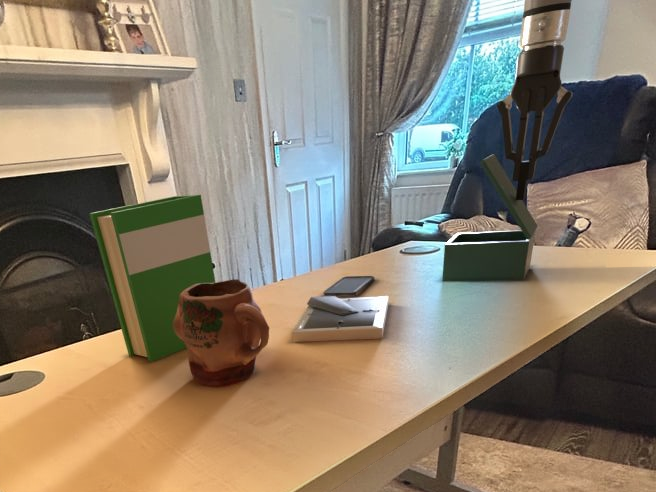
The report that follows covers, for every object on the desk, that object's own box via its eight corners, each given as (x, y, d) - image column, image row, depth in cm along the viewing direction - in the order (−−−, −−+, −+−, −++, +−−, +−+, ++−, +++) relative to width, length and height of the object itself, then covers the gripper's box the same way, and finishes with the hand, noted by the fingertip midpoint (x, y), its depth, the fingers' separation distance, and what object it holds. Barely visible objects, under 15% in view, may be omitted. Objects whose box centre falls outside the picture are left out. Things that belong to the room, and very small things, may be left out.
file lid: (479, 162, 102) (483, 159, 102) (490, 156, 111) (493, 153, 110) (527, 240, 106) (531, 237, 105) (534, 228, 115) (537, 225, 114)
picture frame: (311, 310, 111) (293, 343, 95) (311, 296, 109) (291, 327, 93) (388, 306, 107) (382, 340, 91) (388, 291, 106) (382, 323, 89)
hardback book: (151, 363, 95) (113, 212, 81) (129, 357, 99) (89, 213, 86) (224, 334, 104) (200, 194, 91) (200, 330, 109) (174, 196, 95)
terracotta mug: (304, 375, 82) (296, 280, 74) (251, 405, 75) (236, 304, 67) (216, 357, 94) (201, 273, 86) (163, 382, 87) (142, 293, 79)
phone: (375, 275, 125) (355, 292, 114) (375, 280, 125) (355, 298, 115) (343, 276, 128) (321, 292, 117) (344, 281, 129) (321, 297, 118)
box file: (442, 282, 117) (444, 244, 113) (453, 269, 126) (456, 233, 122) (523, 282, 110) (529, 241, 106) (529, 268, 119) (535, 229, 115)
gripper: (499, 53, 94) (483, 204, 108) (581, 38, 89) (554, 199, 102) (505, 55, 99) (489, 198, 113) (583, 41, 94) (557, 194, 108)
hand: (520, 199), depth 108 cm, fingers closed
